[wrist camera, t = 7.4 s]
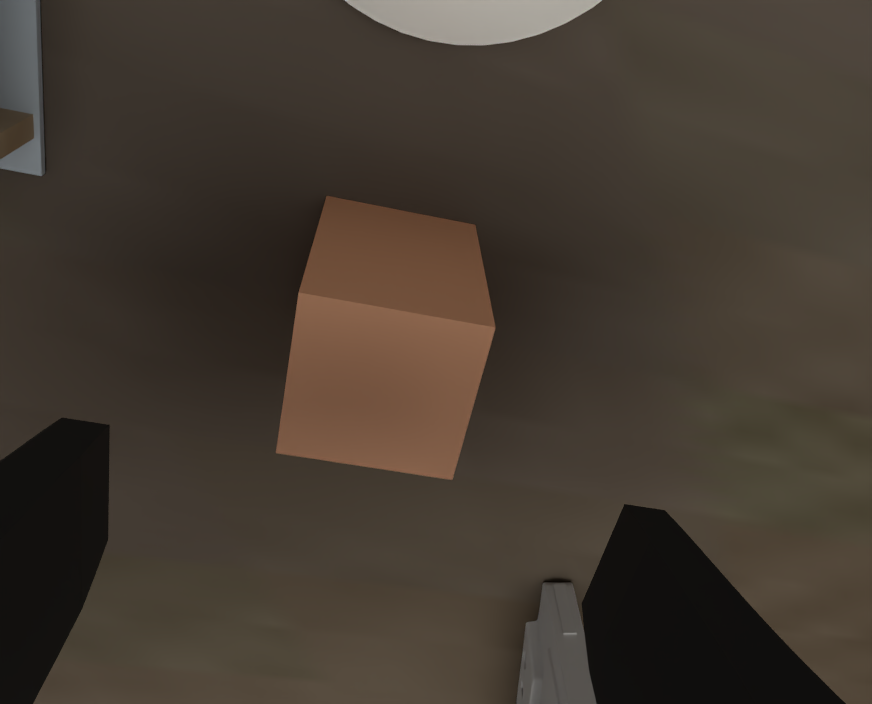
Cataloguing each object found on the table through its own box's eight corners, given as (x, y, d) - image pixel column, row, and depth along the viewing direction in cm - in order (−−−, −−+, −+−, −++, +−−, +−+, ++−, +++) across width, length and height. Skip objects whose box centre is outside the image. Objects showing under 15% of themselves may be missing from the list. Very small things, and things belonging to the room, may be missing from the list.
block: (443, 351, 20) (452, 480, 15) (306, 327, 19) (275, 453, 15) (475, 224, 18) (495, 327, 14) (326, 195, 17) (298, 292, 13)
